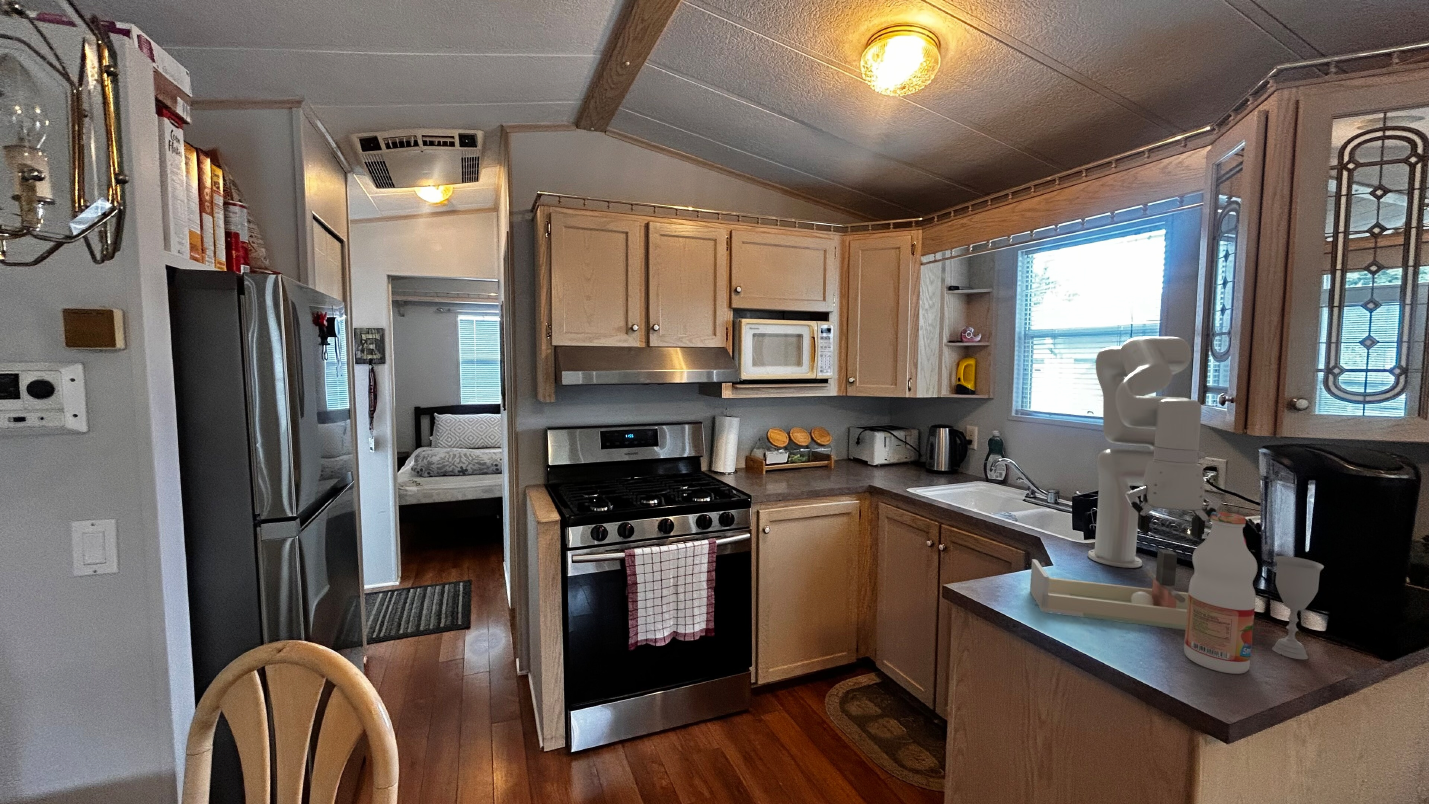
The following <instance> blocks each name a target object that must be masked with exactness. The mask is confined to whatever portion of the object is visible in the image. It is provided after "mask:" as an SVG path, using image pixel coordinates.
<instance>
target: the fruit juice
mask: <svg viewBox="0 0 1429 804" xmlns="http://www.w3.org/2000/svg"><path fill="white" fill-rule="evenodd" d="M1209 518H1210V522H1211V524H1212V525H1211V528H1210V530H1209V532H1208V535H1207V536H1206V537H1205V540H1204V541H1203V542H1202V543H1200V544H1199V545H1198V546H1197V547H1195V549H1194V550H1193V552H1192V553H1193V554H1192V557H1191V558H1192V565H1193V568H1194V572H1193V574H1192V576H1191V577H1190V580H1189V584H1188V592H1187V593H1188V606H1187V617H1186V629H1185V630H1184V631H1185V632H1184V633H1185V634H1184V641H1183V642H1184V643H1183V651H1184V655H1185V656H1186V657H1187V659H1188V660H1191V661H1192V662H1193V663H1195V664H1197V665H1199V666H1201V667H1203V668H1207V669H1210V670H1213V671H1216V672H1220V673H1223V674H1224V673H1226V674H1231V675H1232V674H1233V675H1235V674H1236V675H1237V674H1238V675H1239V674H1244V673H1247V671H1248V670H1249V669H1250V665H1251V652H1252V643H1253V633H1254V622H1255V621H1254V619H1255V610H1256V609H1255V608H1256V590H1255V588H1254V586H1253V583H1254V582H1253V581H1254V580H1255V578H1256V575H1257V574H1258V573H1257V572H1258V563H1257V560H1256V558H1255V556H1254V555H1253V554H1252V553H1251V551H1249V549H1248V546H1247V543H1246V544H1245V541H1244V538H1245V536H1244V533H1243V531H1244V530H1243V529H1244V528H1245V527H1246V523H1247V520H1246V517H1245V516H1243V515H1242V514H1241V515H1240V514H1237V513H1233V512H1232V513H1231V512H1225V511H1216V512H1212V513H1211V516H1210V517H1209ZM1243 536H1244V537H1243Z"/></svg>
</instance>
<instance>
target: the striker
mask: <svg viewBox="0 0 1429 804" xmlns="http://www.w3.org/2000/svg"><path fill="white" fill-rule="evenodd" d="M1157 549H1158V548H1157ZM1156 558H1157V559H1156V560H1157V561H1156V573H1154V572H1153V571H1152V570H1147V571H1146V575H1147V576H1148V577H1150V578H1151V579H1152V588H1151V589H1152V599H1153V605H1154V606H1160V607H1169V608H1176V600H1178V601H1179V602H1181V603H1183V602H1185V598H1184V597H1183V596H1181V595H1180V594H1179V593H1178V592H1179V591H1177V590H1175V589H1174V588H1173V587H1175V586H1176V573H1177V561H1178V554H1177V553H1176V552H1174V551H1173V550H1172V549H1161V548H1159V549H1158V550H1157V557H1156Z"/></svg>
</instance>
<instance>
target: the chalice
mask: <svg viewBox="0 0 1429 804" xmlns="http://www.w3.org/2000/svg"><path fill="white" fill-rule="evenodd" d="M1274 560H1275V563H1276V572H1275V573H1276V574H1275V575H1276V576H1275V585H1276V588H1277V591H1278V593H1279V596H1280V598H1281V600H1282V602H1283V605H1284V606H1285V607H1286V608H1288V609H1290V614H1289V616H1288V617H1287V619H1288V621H1289V622H1288V625H1287V626H1286V627H1285V628H1286V629H1287V631H1288V635H1287V636H1285V637H1281V638H1279V639H1278V640H1277V641H1276V642H1275V645H1274V646H1273V647H1272V648H1271V649H1272V651H1274V652H1276V653H1277V654H1279V655H1281V654H1282V656H1284V657H1287V658H1291V659H1297V660H1308V659H1309V657H1308V655H1307V651H1306V650H1305V646H1304V645H1303V644H1302V643H1301V642H1299V641H1298V640H1297V639H1296V632H1298V631H1299V629H1298V628H1297V623H1298V622H1299V621H1300V620H1299V619H1298V615H1297V614H1298V612H1299V611H1304V610H1305V609H1306V608H1307V607H1308V606H1309V604H1310V603H1311V602H1312V601H1313V600H1314V598H1315V596H1316V595H1317V593H1318V592H1319V583H1320V573H1321V571H1322V570H1323V569H1324V567H1325V566H1324V565H1323V564H1322V563H1319V562H1316V561H1313V560H1310V559H1305V558H1301V557H1296V556H1295V557H1294V556H1287V555H1277V556H1275V557H1274Z"/></svg>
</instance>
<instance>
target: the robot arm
mask: <svg viewBox="0 0 1429 804" xmlns="http://www.w3.org/2000/svg"><path fill="white" fill-rule="evenodd" d="M1191 358H1192V351H1191V347H1190V345H1189V343H1188V342H1187V341H1186V340H1185V339H1183V338H1181V337H1175V336H1140V337H1138V336H1137V337H1133V338H1130V339H1128V340H1127V341H1125V342H1124V343H1123V344H1122V346H1121V345H1120V346H1119V345H1118V346H1109V347H1105V348H1103V349H1101V350H1100V351H1098V353H1097V354H1096V359H1095V372H1096V377H1097V381H1098V383H1099V386H1100V388H1101V389H1100V390H1101V393H1102V397H1103V398H1102V399H1103V401H1102V403H1103V407H1102V409H1103V412H1102V415H1103V418H1102V420H1103V421H1102V422H1103V423H1102V424H1103V425H1102V428H1103V436H1104V438H1105V440H1106V441H1107V442H1109V443H1113V444H1117V445H1131V446H1133V445H1134V446H1143V447H1145V446H1146V447H1148V448H1149V449H1150V450H1144V449H1142V450H1141V449H1133V448H1132V449H1130V448H1108V449H1104V450H1103V451H1101V452H1100V453H1098V455H1097V459H1096V470H1097V477H1098V494H1097V495H1098V498H1097V513H1096V528H1095V540H1094V541H1095V543H1094V549H1090V550H1088V552H1087V557H1088V558H1089V559H1090V560H1093V561H1094V562H1097V563H1100V564H1102V565H1106V566H1107V565H1108V566H1112V567H1118V568H1123V569H1124V568H1125V569H1127V568H1130V569H1133V568H1135V569H1136V568H1140V567H1142V565H1143V561H1142V559H1141V558H1139V557H1138V556H1136V552H1137V542H1138V541H1137V538H1138V529H1139V532H1141V533H1143V535H1149V534H1150V521H1151V517H1150V516H1149V513H1151V511H1153V510H1154V509H1155V508H1156V509H1162V510H1163V509H1164V510H1176V511H1187V512H1189V511H1191V513H1192V514H1193V515H1194V516H1192V519H1191V527H1190V528H1191V529H1190V534H1191V536H1193V537H1194V538H1196V539H1198V540H1202V538H1203V535H1205V531H1206V530H1205V528H1206V522H1207V521H1208V520H1209V518H1210V516H1211V513H1212V512H1217V510H1219V507H1220V506H1221V505H1222V503H1223V501H1222V500H1221V499H1220V498H1219V499H1218V498H1217V497H1215V496H1213V495H1211V494H1209V493H1207V492H1205V484H1204V475H1203V468H1202V465H1201V464H1199V461H1200V460H1201V459H1202V460H1205V459H1206V457H1207V453H1206V452H1202V451H1200V448H1199V446H1200V435H1201V434H1200V433H1201V421H1202V405H1201V403H1200V402H1199V401H1198V400H1195V399H1190V398H1187V397H1182V396H1181V397H1179V396H1160V395H1158V396H1157V395H1151V394H1154V393H1157V392H1160V391H1162V390H1164V389H1165V388H1166V387H1168V386H1169V384H1170V383H1171V382H1172V379H1173V375H1175V374H1178V373H1180V372H1182V371H1184V370H1185V369H1186V368H1187V367H1188V366H1189V364H1190V362H1191ZM1131 485H1139V486H1141V487H1139V488H1138V487H1137V488H1135V489H1133V490H1132V488H1131V487H1130V486H1131ZM1138 497H1140V499H1139V498H1138ZM1140 500H1141V501H1142V503H1141V504H1140ZM1205 500H1206V501H1208V502H1209V504H1208V506H1206V507H1205V508H1203V507H1204V501H1205Z"/></svg>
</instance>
